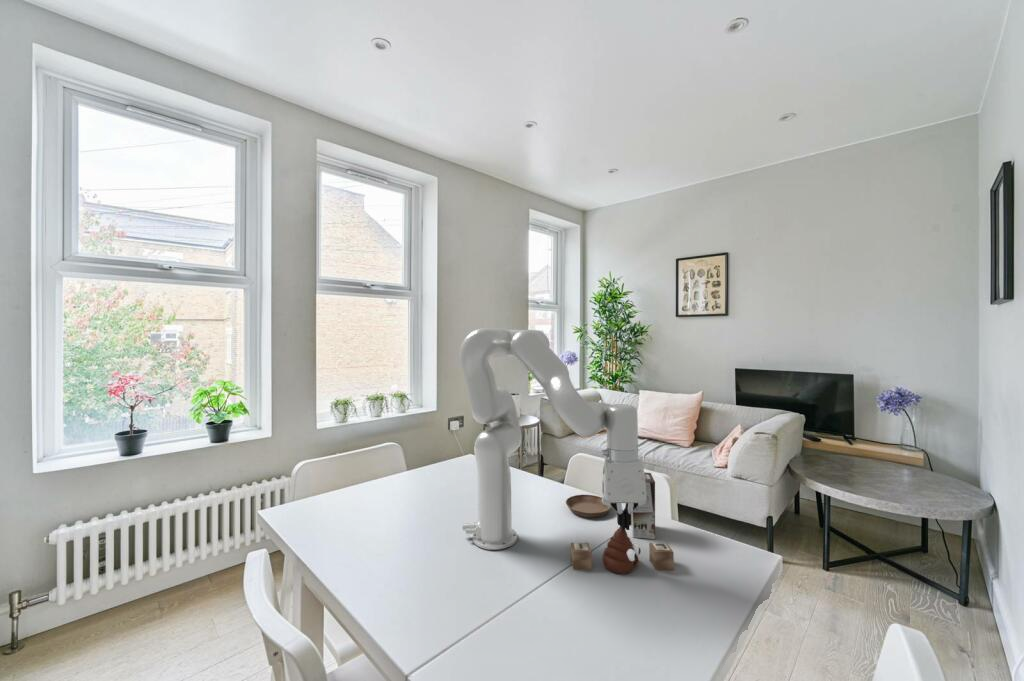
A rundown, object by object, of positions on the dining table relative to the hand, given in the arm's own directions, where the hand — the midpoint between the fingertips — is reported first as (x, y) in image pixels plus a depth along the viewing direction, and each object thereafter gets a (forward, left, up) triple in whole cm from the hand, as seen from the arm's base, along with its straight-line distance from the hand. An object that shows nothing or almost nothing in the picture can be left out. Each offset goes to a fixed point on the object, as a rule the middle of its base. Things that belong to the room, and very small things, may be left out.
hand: (624, 527), depth 103 cm
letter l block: (+9, 0, -10) cm, 13 cm away
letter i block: (-11, 0, -10) cm, 14 cm away
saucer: (-4, +33, -10) cm, 35 cm away
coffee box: (+10, +18, -10) cm, 23 cm away
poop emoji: (-1, 0, -10) cm, 10 cm away
